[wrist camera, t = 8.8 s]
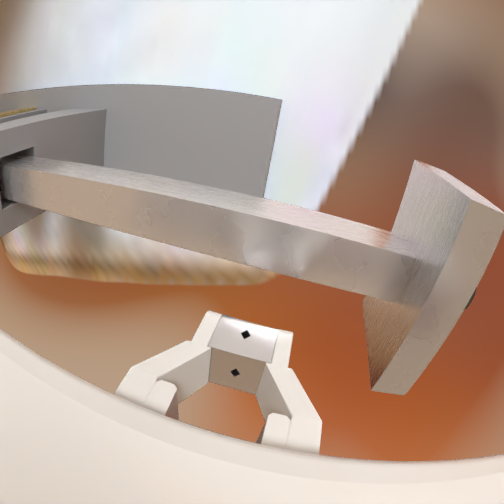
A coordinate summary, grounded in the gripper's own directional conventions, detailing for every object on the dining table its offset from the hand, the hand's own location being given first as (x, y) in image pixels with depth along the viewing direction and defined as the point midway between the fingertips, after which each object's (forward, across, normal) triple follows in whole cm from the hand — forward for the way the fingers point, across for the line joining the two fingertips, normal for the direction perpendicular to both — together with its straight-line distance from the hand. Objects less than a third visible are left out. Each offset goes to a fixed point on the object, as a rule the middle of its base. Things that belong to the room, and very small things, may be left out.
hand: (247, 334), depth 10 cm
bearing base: (+13, +17, -2) cm, 21 cm away
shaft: (+6, +5, -2) cm, 9 cm away
